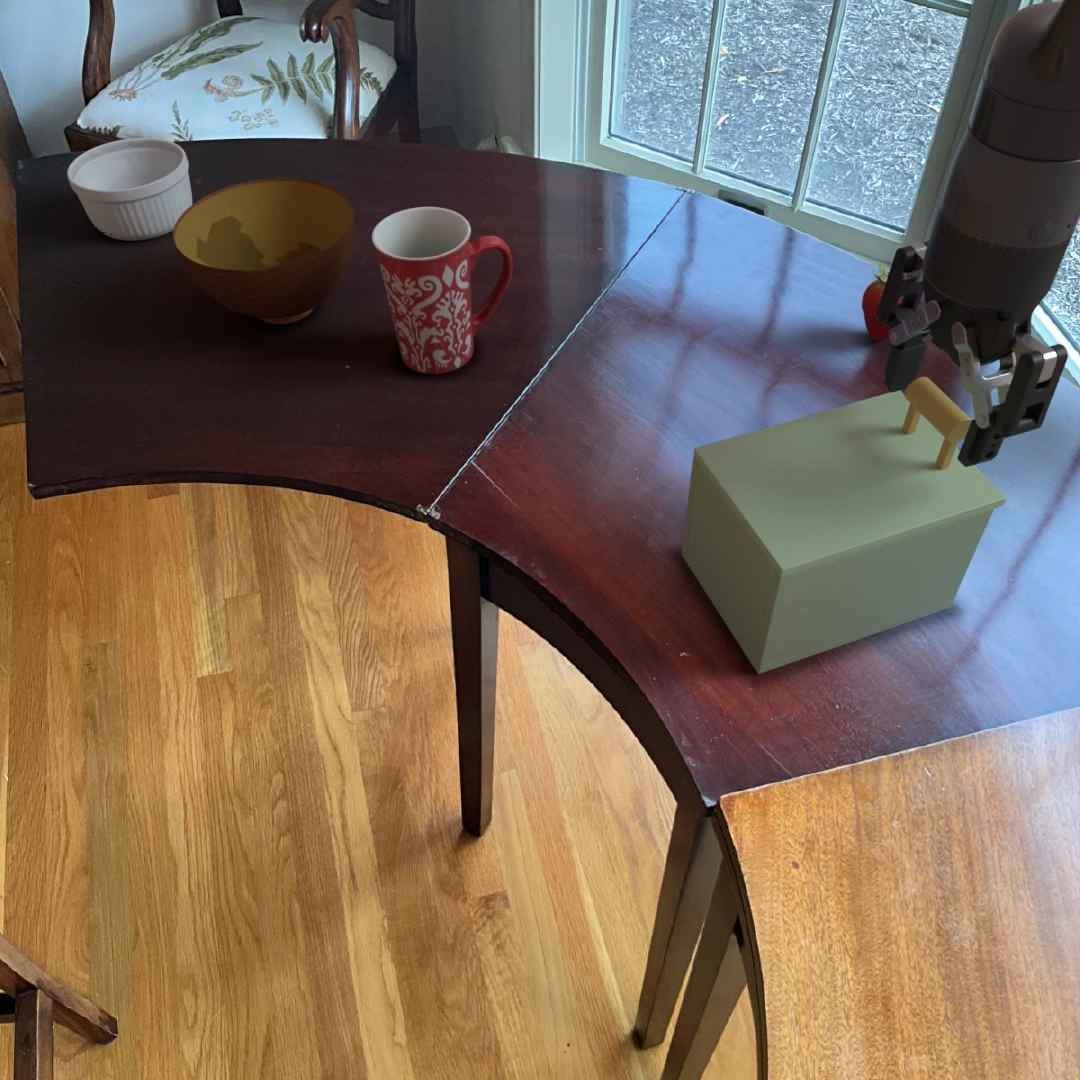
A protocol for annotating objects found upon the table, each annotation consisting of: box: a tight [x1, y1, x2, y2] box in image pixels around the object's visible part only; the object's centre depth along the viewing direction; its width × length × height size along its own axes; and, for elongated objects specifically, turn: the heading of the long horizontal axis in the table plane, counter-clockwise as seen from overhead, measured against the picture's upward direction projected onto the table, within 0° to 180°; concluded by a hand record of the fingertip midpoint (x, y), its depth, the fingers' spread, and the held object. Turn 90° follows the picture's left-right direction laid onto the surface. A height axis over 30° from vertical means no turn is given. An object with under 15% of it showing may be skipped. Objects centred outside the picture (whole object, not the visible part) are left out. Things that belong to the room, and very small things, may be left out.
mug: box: [371, 206, 514, 375], centre depth 95 cm, size 13×9×14 cm
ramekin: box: [66, 137, 193, 242], centre depth 117 cm, size 13×13×7 cm
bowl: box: [172, 177, 356, 325], centre depth 102 cm, size 18×18×10 cm
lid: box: [693, 376, 1008, 577], centre depth 69 cm, size 17×13×5 cm
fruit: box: [861, 264, 903, 342], centre depth 96 cm, size 5×5×8 cm
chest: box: [681, 456, 995, 675], centre depth 74 cm, size 17×13×11 cm
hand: (933, 422), depth 70 cm, fingers open, 8 cm apart
